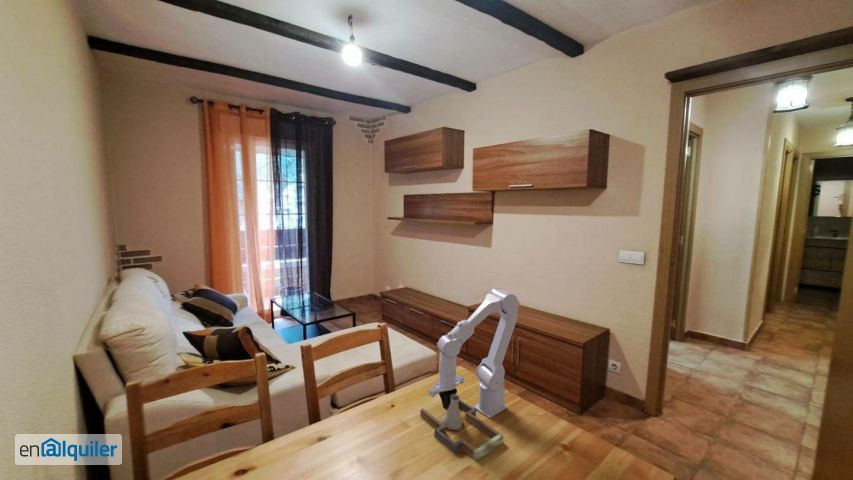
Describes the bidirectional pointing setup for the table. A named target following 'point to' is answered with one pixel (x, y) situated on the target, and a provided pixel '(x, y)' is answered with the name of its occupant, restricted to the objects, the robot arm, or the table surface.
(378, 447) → the table surface
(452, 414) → the flask
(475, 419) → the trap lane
